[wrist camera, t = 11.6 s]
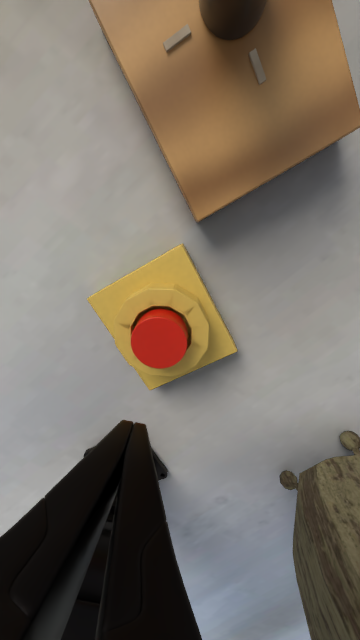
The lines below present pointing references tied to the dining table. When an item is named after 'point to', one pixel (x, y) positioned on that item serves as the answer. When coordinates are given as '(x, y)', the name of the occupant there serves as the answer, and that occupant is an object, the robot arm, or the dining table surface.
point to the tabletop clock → (329, 543)
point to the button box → (171, 294)
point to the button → (159, 339)
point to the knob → (231, 16)
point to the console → (233, 91)
